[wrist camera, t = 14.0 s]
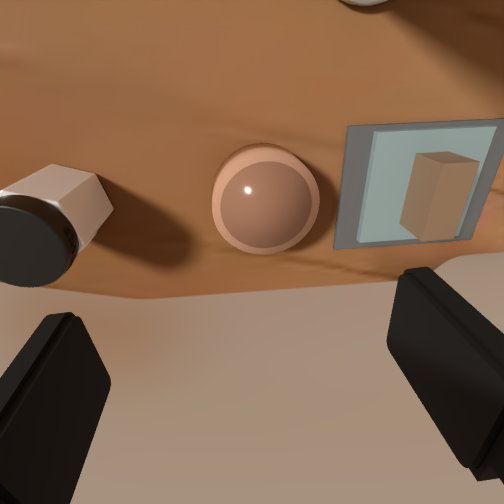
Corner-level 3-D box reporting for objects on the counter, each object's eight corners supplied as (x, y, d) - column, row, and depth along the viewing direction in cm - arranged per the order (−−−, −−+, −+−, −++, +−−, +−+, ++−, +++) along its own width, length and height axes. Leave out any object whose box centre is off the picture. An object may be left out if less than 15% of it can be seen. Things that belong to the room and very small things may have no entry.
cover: (490, 125, 35) (536, 133, 30) (453, 232, 42) (485, 254, 37) (374, 131, 34) (401, 140, 29) (356, 239, 41) (375, 262, 36)
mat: (512, 117, 36) (516, 118, 35) (467, 237, 44) (470, 239, 43) (347, 125, 34) (349, 126, 34) (333, 247, 42) (334, 249, 42)
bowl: (280, 121, 34) (289, 128, 29) (323, 206, 39) (336, 222, 35) (192, 178, 36) (189, 192, 32) (245, 250, 42) (248, 270, 37)
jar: (85, 244, 39) (36, 305, 29) (21, 203, 35) (-60, 255, 25) (126, 197, 36) (89, 245, 26) (62, 147, 33) (-11, 179, 23)
